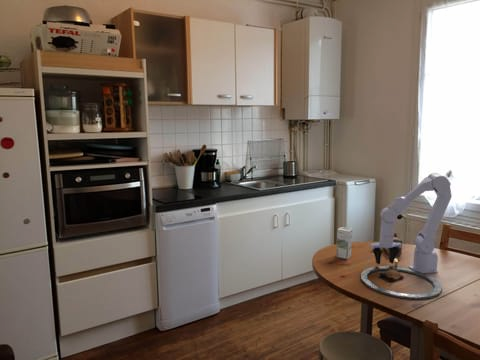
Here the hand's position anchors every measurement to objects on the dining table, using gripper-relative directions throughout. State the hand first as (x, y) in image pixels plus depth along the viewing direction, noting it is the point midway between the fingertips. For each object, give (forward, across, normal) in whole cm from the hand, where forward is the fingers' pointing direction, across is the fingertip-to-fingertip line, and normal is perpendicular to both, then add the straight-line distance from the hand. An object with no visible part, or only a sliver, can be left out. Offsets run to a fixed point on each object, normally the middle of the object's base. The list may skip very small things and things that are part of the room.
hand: (384, 263), depth 181 cm
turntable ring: (+2, +2, +14) cm, 15 cm away
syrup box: (+2, +13, -16) cm, 20 cm away
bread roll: (+3, +3, +11) cm, 12 cm away
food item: (+2, -16, -19) cm, 25 cm away
